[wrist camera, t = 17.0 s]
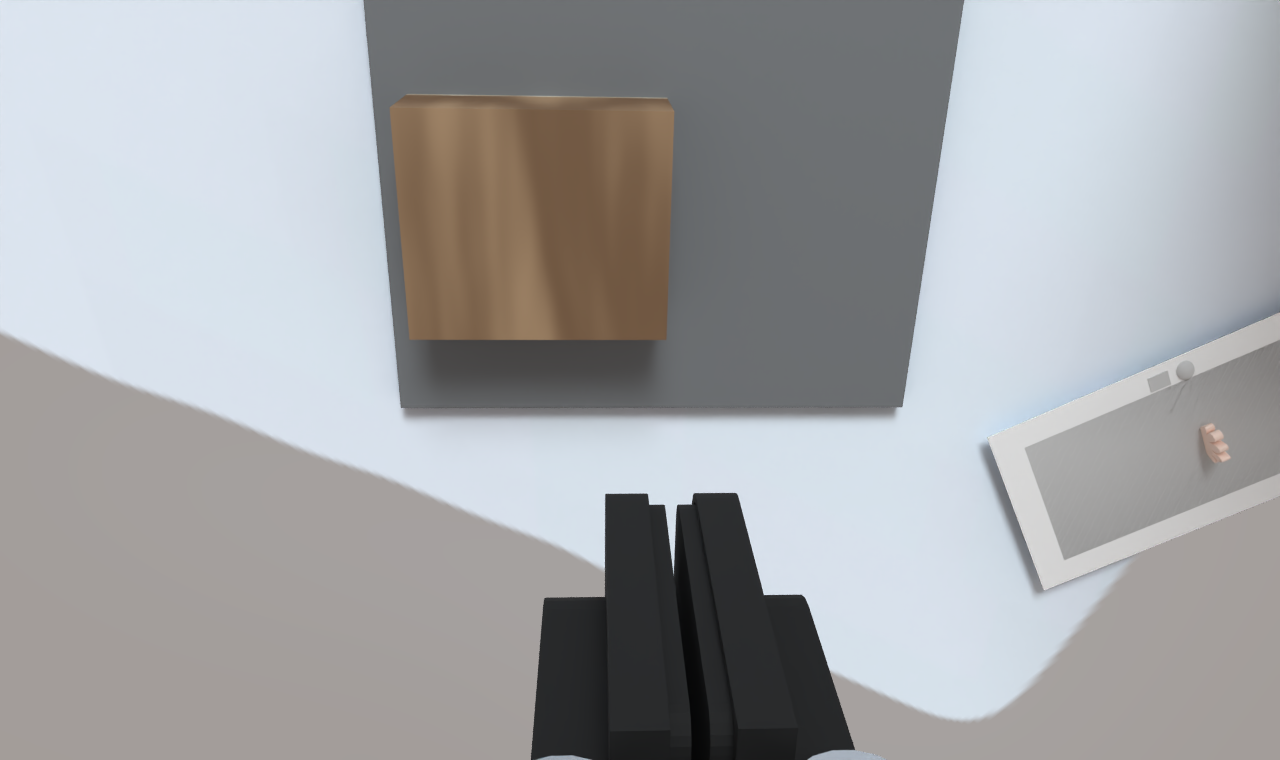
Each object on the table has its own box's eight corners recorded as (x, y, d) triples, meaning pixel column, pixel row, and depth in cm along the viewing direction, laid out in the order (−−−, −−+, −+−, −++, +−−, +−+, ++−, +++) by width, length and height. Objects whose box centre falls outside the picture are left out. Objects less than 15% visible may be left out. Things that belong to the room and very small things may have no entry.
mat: (958, -11, 29) (965, -10, 28) (897, 399, 35) (902, 406, 34) (365, -24, 28) (361, -23, 27) (404, 400, 34) (401, 407, 33)
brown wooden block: (674, 111, 27) (389, 107, 26) (666, 340, 30) (409, 339, 29) (666, 97, 29) (407, 93, 29) (660, 309, 32) (424, 308, 32)
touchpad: (1399, 426, 37) (1445, 452, 35) (1032, 574, 39) (1055, 607, 37) (1373, 253, 34) (1421, 272, 32) (976, 424, 36) (998, 452, 34)
